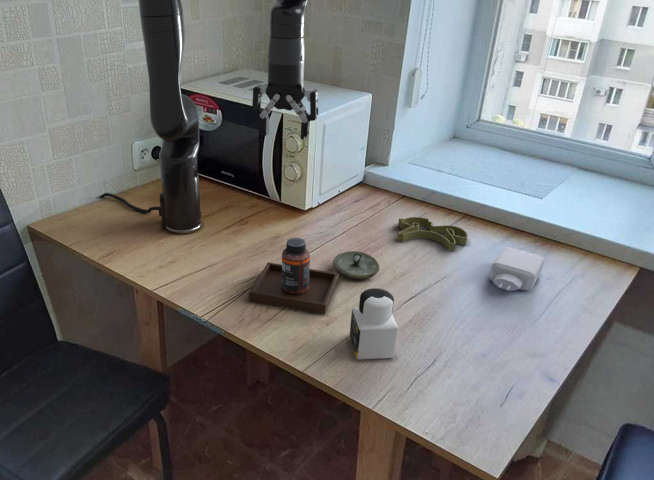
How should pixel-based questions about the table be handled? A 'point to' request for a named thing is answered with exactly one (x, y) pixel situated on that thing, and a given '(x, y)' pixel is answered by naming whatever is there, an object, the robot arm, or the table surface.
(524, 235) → the table surface
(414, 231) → the cookie cutter
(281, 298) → the tray
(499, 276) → the charger
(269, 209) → the table surface
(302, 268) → the supplement bottle
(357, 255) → the antique brass shank button
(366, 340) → the medicine bottle
